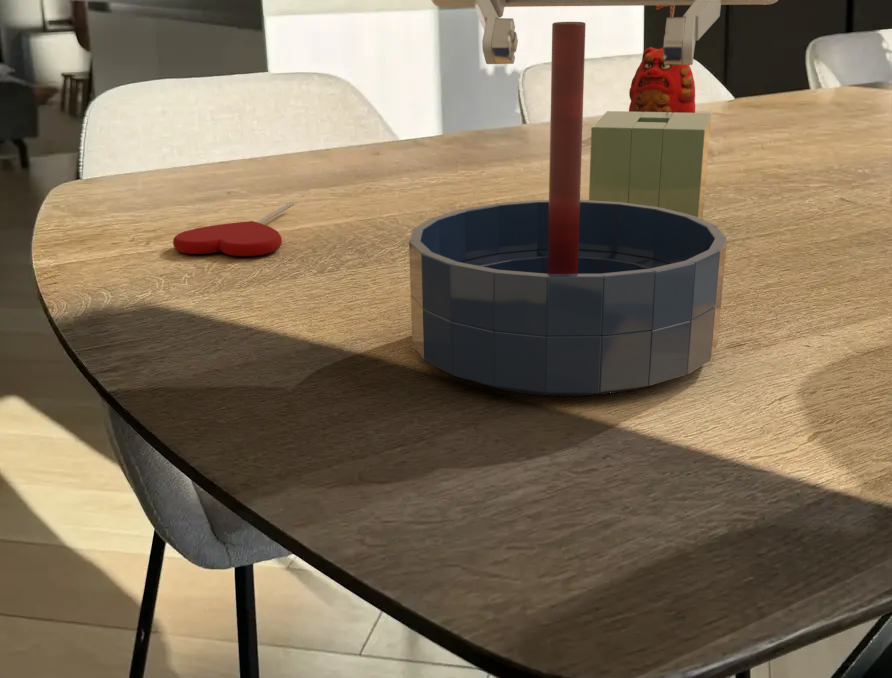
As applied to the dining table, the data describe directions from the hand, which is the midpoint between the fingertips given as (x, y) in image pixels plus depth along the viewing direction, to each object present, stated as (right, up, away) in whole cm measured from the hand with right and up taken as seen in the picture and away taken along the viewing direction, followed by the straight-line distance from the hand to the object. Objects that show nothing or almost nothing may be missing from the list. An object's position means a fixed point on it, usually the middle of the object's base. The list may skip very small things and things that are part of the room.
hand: (585, 57), depth 58 cm
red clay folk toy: (+17, +16, +69) cm, 73 cm away
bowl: (-1, -15, +3) cm, 15 cm away
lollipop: (-22, -4, +28) cm, 36 cm away
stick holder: (+8, -3, +28) cm, 29 cm away
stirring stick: (-1, -14, +2) cm, 15 cm away
